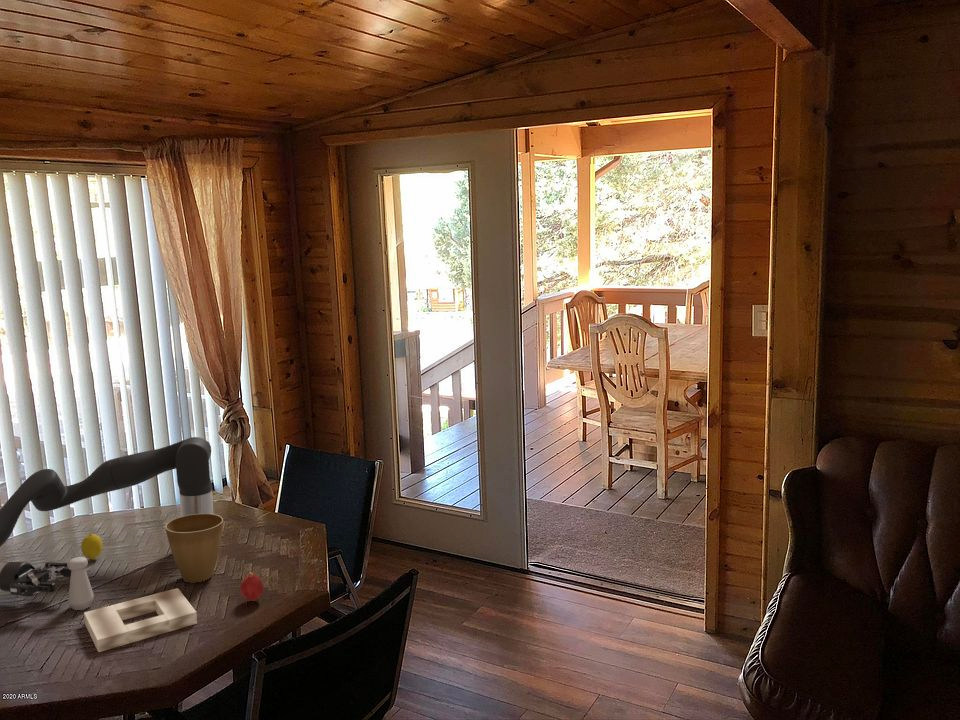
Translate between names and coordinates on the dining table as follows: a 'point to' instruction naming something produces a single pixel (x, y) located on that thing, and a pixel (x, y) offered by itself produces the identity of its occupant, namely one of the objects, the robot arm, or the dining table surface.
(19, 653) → the dining table surface
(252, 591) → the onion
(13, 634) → the dining table surface
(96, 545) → the lemon
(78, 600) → the salt shaker
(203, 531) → the plant pot
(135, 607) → the hole board
